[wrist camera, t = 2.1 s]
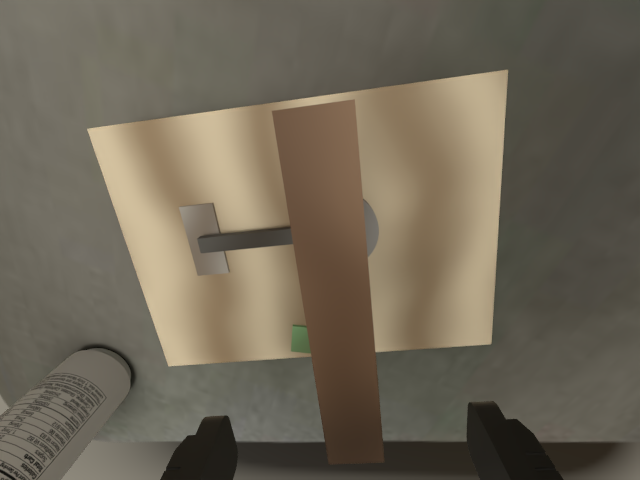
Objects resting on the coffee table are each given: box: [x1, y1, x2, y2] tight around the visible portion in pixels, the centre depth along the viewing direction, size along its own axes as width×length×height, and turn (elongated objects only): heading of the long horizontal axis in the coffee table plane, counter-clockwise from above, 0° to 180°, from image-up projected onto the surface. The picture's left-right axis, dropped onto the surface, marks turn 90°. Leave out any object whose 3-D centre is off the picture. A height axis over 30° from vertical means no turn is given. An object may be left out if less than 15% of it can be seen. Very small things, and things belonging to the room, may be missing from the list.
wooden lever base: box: [87, 70, 508, 366], centre depth 21 cm, size 22×16×5 cm
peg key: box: [197, 99, 384, 464], centre depth 14 cm, size 10×12×9 cm
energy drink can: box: [0, 348, 131, 480], centre depth 23 cm, size 6×6×15 cm
